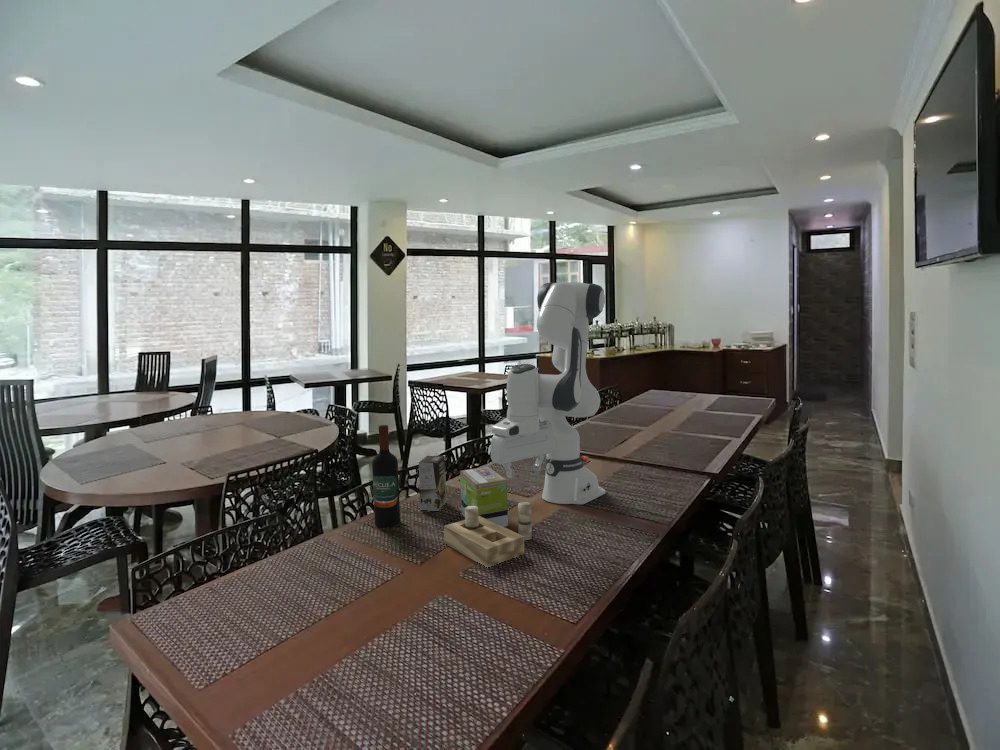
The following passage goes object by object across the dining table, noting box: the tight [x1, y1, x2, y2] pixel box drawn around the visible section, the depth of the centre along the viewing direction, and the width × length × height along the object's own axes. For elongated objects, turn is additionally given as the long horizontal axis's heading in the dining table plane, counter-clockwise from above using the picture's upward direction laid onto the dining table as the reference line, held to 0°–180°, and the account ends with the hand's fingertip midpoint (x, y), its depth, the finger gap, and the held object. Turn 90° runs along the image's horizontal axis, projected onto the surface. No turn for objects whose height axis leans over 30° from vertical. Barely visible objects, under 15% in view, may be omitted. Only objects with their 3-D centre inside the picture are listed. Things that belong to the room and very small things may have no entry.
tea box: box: [459, 466, 509, 528], centre depth 176 cm, size 15×10×15 cm
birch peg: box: [517, 501, 533, 541], centre depth 162 cm, size 4×4×10 cm
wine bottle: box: [371, 424, 401, 529], centre depth 175 cm, size 8×8×30 cm
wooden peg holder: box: [443, 506, 525, 569], centre depth 156 cm, size 12×20×10 cm, turn 38°
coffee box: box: [418, 455, 447, 512], centre depth 189 cm, size 9×6×16 cm
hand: (523, 473), depth 160 cm, fingers open, 8 cm apart
